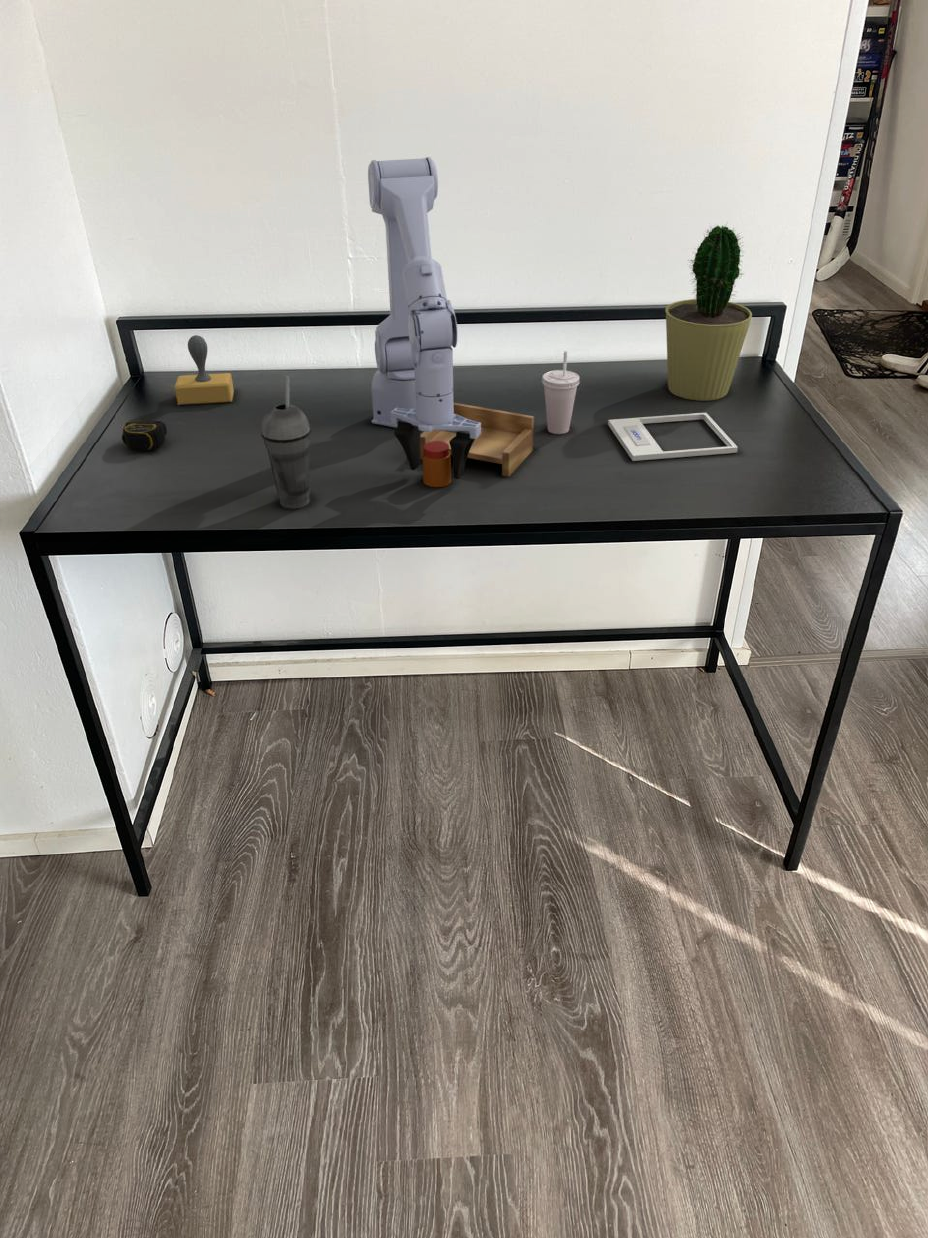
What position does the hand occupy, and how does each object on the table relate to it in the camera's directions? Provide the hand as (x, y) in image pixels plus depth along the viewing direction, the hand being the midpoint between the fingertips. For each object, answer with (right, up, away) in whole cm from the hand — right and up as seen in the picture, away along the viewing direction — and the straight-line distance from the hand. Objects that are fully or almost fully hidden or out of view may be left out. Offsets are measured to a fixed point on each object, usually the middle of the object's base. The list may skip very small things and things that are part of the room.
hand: (436, 471), depth 150 cm
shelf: (+6, +4, +8) cm, 11 cm away
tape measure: (-51, +7, +13) cm, 53 cm away
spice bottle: (0, -1, +1) cm, 2 cm away
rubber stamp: (-45, +18, +30) cm, 57 cm away
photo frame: (+40, +8, +13) cm, 42 cm away
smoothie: (+21, +10, +16) cm, 28 cm away
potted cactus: (+49, +20, +31) cm, 61 cm away
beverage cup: (-22, -5, -4) cm, 23 cm away
